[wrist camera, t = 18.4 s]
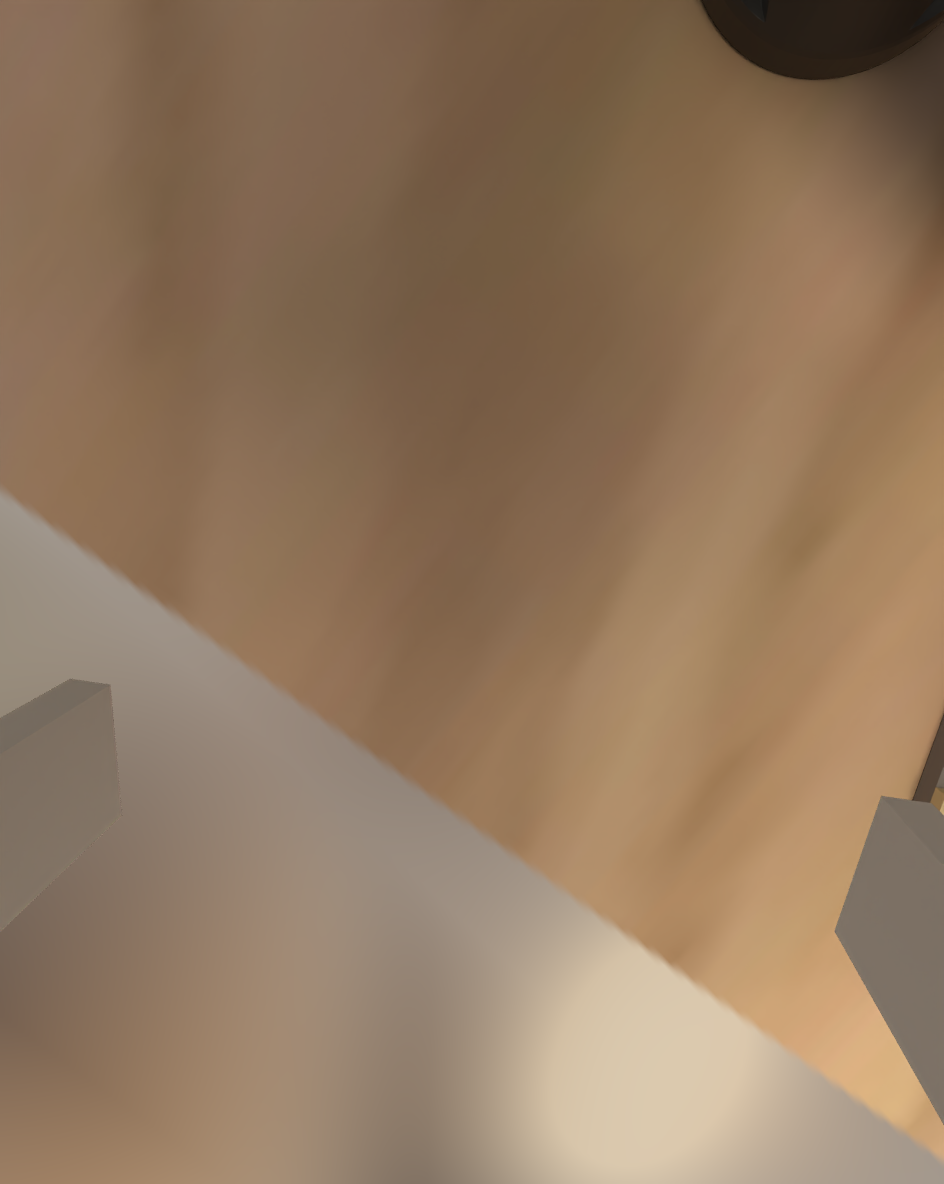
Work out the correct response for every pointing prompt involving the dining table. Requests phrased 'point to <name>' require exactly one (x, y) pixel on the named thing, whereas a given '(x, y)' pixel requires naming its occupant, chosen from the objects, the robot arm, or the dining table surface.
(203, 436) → the dining table surface
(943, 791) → the gear board
